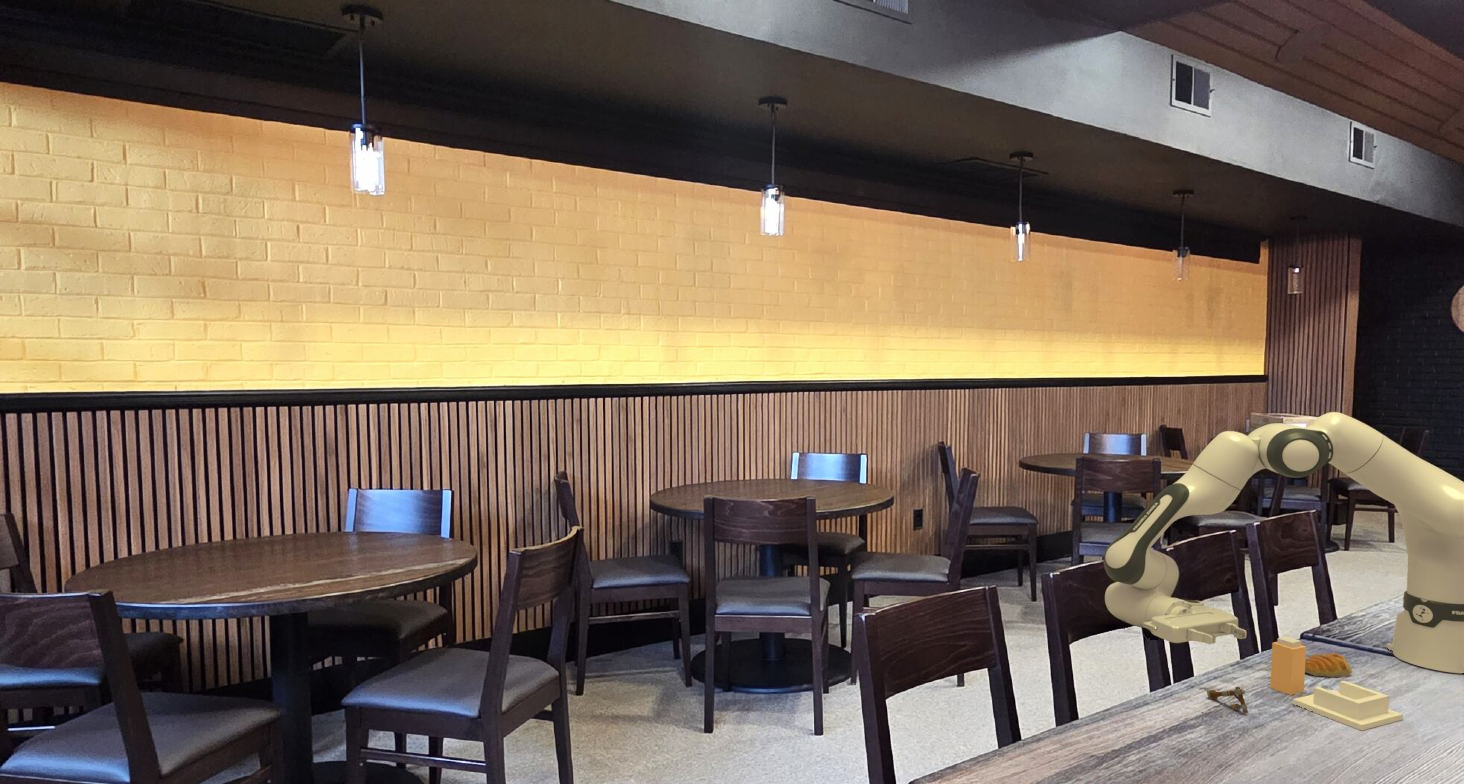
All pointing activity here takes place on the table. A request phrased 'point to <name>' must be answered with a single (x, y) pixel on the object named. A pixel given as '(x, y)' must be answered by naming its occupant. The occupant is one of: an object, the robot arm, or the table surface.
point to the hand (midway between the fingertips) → (1229, 637)
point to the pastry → (1327, 665)
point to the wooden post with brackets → (1214, 695)
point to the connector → (1288, 666)
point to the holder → (1351, 706)
